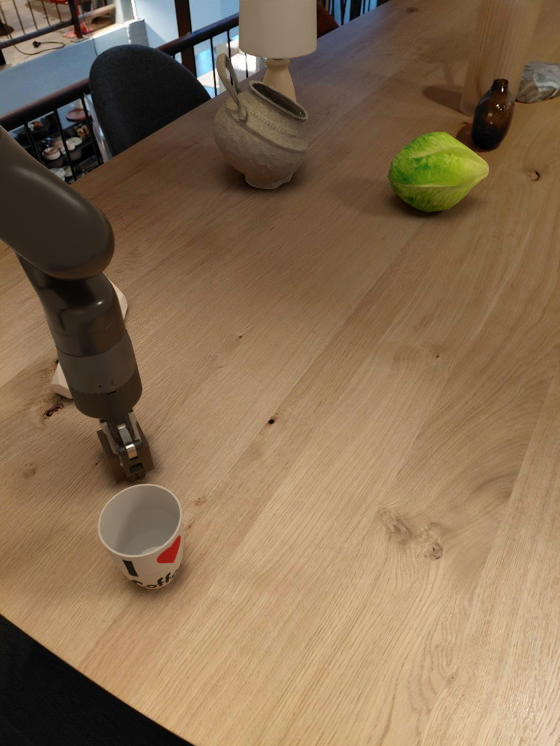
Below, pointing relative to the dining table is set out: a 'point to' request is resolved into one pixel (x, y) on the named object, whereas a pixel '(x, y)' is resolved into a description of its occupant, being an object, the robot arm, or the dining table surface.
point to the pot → (259, 130)
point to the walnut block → (114, 458)
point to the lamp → (278, 36)
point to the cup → (144, 534)
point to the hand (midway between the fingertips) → (129, 460)
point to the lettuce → (435, 172)
